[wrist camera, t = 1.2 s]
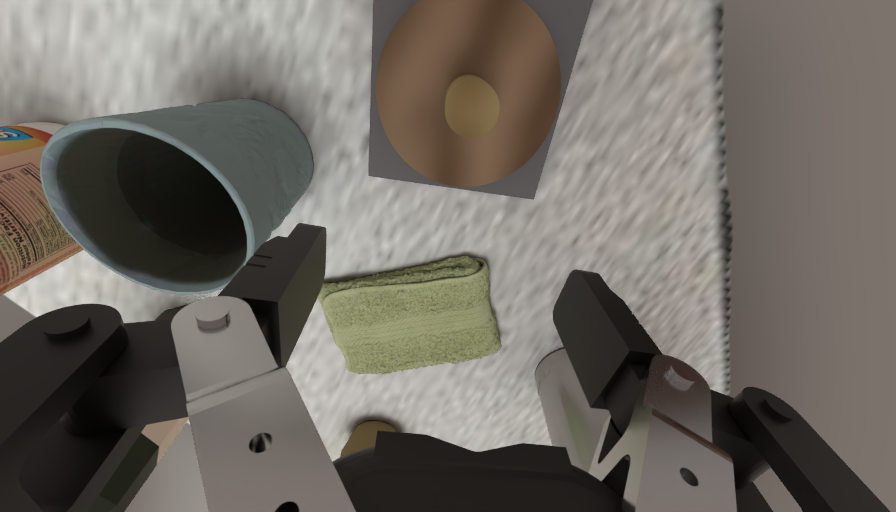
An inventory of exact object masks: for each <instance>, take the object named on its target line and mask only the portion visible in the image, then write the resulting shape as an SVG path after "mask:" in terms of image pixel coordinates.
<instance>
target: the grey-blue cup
mask: <svg viewBox="0 0 896 512" xmlns="http://www.w3.org/2000/svg"><path fill="white" fill-rule="evenodd" d="M312 159H313V158H312V152H311V149H310V146H309V144H308V142H307V140H306V138H305V136H304V135H303V133H302V131H301V130H300V129H299V127H298V126H297V125H296V124H295V123H294V122H293V120H292V119H290V118H289V117H288V116H287V115H286V114H284V113H283V112H281V111H280V110H278V109H277V108H275V107H273V106H271V105H269V104H266V103H264V102H261V101H257V100H253V99H243V98H242V99H232V100H226V101H220V102H209V103H202V104H197V105H196V106H192V105H186V106H179V107H170V108H163V109H157V110H151V111H144V112H138V113H128V114H119V115H112V116H104V117H96V118H90V119H85V120H81V121H77V122H73V123H70V124H68V125H66V126H64V127H62V128H60V129H59V130H58V131H57V132H56V133H55V134H54V135H53V136H52V137H51V138H50V139H49V141H48V143H47V144H46V146H45V148H44V149H43V152H42V157H41V162H40V178H41V183H42V188H43V191H44V194H45V196H46V199H47V201H48V204H49V206H50V207H51V209H52V211H53V213H54V214H55V216H56V218H57V219H58V221H59V222H60V224H61V225H62V226H63V228H64V229H65V230H66V232H67V233H68V234H69V235H70V236H71V237H72V238H73V239H74V240H75V241H76V242H77V243H78V244H79V245H80V246H81V247H82V248H83V249H84V250H85V251H86V252H88V253H89V254H90V255H91V256H92V257H94V258H95V259H96V260H98V261H99V262H101V263H102V264H103V265H105V266H106V267H108V268H109V269H111V270H112V271H114V272H115V273H117V274H119V275H121V276H123V277H125V278H127V279H129V280H131V281H133V282H136V283H138V284H141V285H144V286H146V287H149V288H151V289H155V290H160V291H164V292H169V293H175V294H201V293H211V292H214V291H217V290H221V289H224V288H225V287H226V286H227V284H228V283H229V282H230V281H231V280H232V279H233V277H234V276H235V275H236V274H237V273H238V272H239V270H240V269H241V268H242V267H243V266H244V265H246V262H247V261H248V260H249V259H250V258H251V256H253V254H254V253H255V252H256V251H257V249H258V248H259V247H260V246H261V245H262V244H263V243H265V242H266V241H267V240H268V239H269V238H270V236H271V231H273V230H275V229H276V228H278V227H279V226H280V224H281V223H282V222H283V220H284V219H285V217H286V216H287V215H288V214H289V212H290V211H291V208H292V207H293V206H294V205H295V204H296V203H297V202H298V200H299V199H300V198H301V196H302V195H303V194H304V192H305V191H306V189H307V188H308V186H309V184H310V181H311V179H312V173H313V161H312Z"/></svg>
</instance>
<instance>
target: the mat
mask: <svg viewBox="0 0 896 512" xmlns="http://www.w3.org/2000/svg"><path fill="white" fill-rule="evenodd" d="M417 1H419V0H374V3H373V38H372V72H371V107H370V141H369V176H373V177H380V178H387V179H394V180H401V181H408V182H415V183H422V184H429V185H436V186H443V187H450V188H457V189H464V190H471V191H478V192H485V193H492V194H499V195H506V196H513V197H520V198H527V199H534V197H535V193H536V190H537V186H538V183H539V180H540V176H541V173H542V170H543V166H544V163H545V160H546V156H547V153H548V149H549V146H550V143H551V139H552V136H553V133H554V129H555V126H556V122H557V119H558V116H559V112H560V109H561V106H562V102H563V99H564V95H565V92H566V89H567V85H568V82H569V79H570V75H571V72H572V68H573V65H574V62H575V58H576V55H577V52H578V48H579V45H580V42H581V38H582V35H583V31H584V28H585V25H586V21H587V18H588V15H589V11H590V8H591V4H592V1H593V0H523V1H524V2H525V3H526V4H528V5H529V6H530V7H531V8H532V9H533V10H534V11H535V12H536V14H537V15H538V16H539V17H540V19H541V20H542V21H543V22H544V24H545V26H546V28H547V29H548V31H549V33H550V35H551V37H552V40H553V42H554V44H555V47H556V51H557V54H558V58H559V64H560V71H561V92H560V101H559V105H558V109H557V114H556V116H555V119H554V122H553V125H552V127H551V129H550V131H549V133H548V135H547V137H546V139H545V140H544V142H543V143H542V145H541V147H540V148H539V149H538V150H537V152H536V153H535V154H534V155H533V156H532V157H531V158H530V159H529V160H528V161H527V162H526V163H525V164H524V165H523V166H522V167H520V168H519V169H518V170H516V171H515V172H513V173H512V174H510V175H508V176H507V177H505V178H503V179H500V180H498V181H496V182H493V183H489V184H486V185H481V186H475V187H457V186H450V185H446V184H442V183H439V182H436V181H433V180H431V179H429V178H427V177H425V176H423V175H422V174H420V173H419V172H417V171H416V170H414V169H413V168H412V167H411V166H410V165H408V164H407V163H406V162H405V161H404V160H403V159H402V158H401V156H400V155H399V154H398V153H397V152H396V150H395V149H394V147H393V146H392V144H391V143H390V141H389V139H388V137H387V135H386V133H385V131H384V128H383V126H382V123H381V120H380V116H379V112H378V107H377V100H376V76H377V68H378V64H379V59H380V56H381V53H382V50H383V47H384V44H385V42H386V40H387V38H388V36H389V34H390V32H391V30H392V29H393V28H394V26H395V25H396V23H397V22H398V20H399V19H400V18H401V17H402V16H403V14H404V13H405V12H406V11H407V10H408V9H409V8H410V7H411V6H413V5H414V4H415V3H416V2H417Z"/></svg>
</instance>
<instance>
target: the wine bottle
mask: <svg viewBox="0 0 896 512" xmlns="http://www.w3.org/2000/svg"><path fill="white" fill-rule="evenodd" d="M187 305H189V304H187ZM187 305H184V306H180V307H177V308H173V309H169V310H166V311H164V312H163V313H162V314H161V315H160V316H159V317H158V318H157V319H156V320H155V321H159V320H168V319H173V318H174V316H175V315H176V314H177V313H178V312H179V311H180V310H181V309H182V308H184V307H186V306H187ZM188 419H189V417H186V418H180V419H175V420H170V421H164V422H159V423H154V424H148V425H146V426H145V428H144V429H143V431H142V432H141V434H140V435H139V437H138V438H137V440H136V441H135V442H134V444H133V445H132V447H131V448H130V450H129V451H128V453H127V454H126V456H125V457H124V459H123V460H122V462H121V463H120V465H119V466H118V467H117V469H116V470H115V472H114V473H113V475H112V476H111V478H110V479H109V481H108V482H107V484H106V485H105V487H104V488H103V490H102V491H101V493H100V494H99V495H98V497H97V498H96V500H95V501H94V503H93V504H92V506H91V507H90V509H89V510H88V512H124V511H125V510H126V508H127V507H128V505H129V504H130V503H131V501H132V500H133V498H134V497H135V495H136V494H137V492H138V491H139V490H140V488H141V487H142V485H143V484H144V483H145V481H146V480H147V478H148V477H149V475H150V474H151V473H152V471H153V470H154V468H155V467H156V465H157V464H158V462H159V461H160V460H161V458H162V457H163V455H164V454H165V452H166V451H167V450H168V448H169V447H170V445H171V444H172V442H173V441H174V440H175V438H176V437H177V435H178V434H179V432H180V431H181V429H182V428H183V427H184V425H185V424H186V422H187V421H188Z"/></svg>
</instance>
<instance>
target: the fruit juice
mask: <svg viewBox="0 0 896 512" xmlns="http://www.w3.org/2000/svg"><path fill="white" fill-rule="evenodd" d="M64 126H66V125H62V124H57V123H49V122H31V123H21V124H16V125H10V126H4V127H0V295H2V294H4V293H6V292H8V291H9V290H11V289H13V288H15V287H17V286H19V285H20V284H22V283H24V282H26V281H28V280H29V279H31V278H33V277H35V276H37V275H38V274H40V273H42V272H44V271H46V270H47V269H49V268H51V267H53V266H55V265H57V264H58V263H60V262H62V261H64V260H66V259H67V258H69V257H71V256H73V255H75V254H76V253H78V252H80V251H82V250H84V249H83V248H82V247H81V246H80V245H79V244H78V243H77V242H76V241H75V240H74V239H73V238H72V237H71V236H70V235H69V234H68V233H67V232H66V230H65V229H64V228H63V226H62V225H61V224H60V222H59V221H58V219H57V218H56V216H55V214H54V213H53V211H52V209H51V207H50V206H49V204H48V201H47V199H46V196H45V194H44V191H43V188H42V183H41V178H40V162H41V157H42V152H43V149H44V148H45V146H46V144H47V143H48V141H49V139H50V138H51V137H52V136H53V135H54V134H55V133H56V132H57V131H58V130H59V129H60V128H62V127H64Z"/></svg>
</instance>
